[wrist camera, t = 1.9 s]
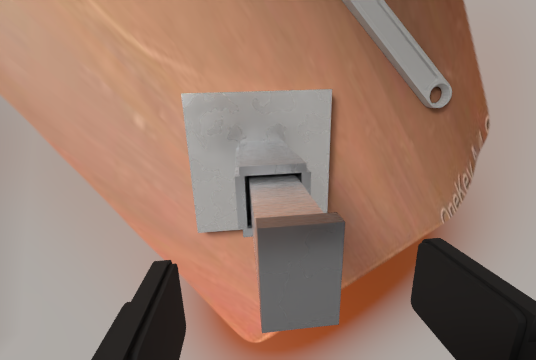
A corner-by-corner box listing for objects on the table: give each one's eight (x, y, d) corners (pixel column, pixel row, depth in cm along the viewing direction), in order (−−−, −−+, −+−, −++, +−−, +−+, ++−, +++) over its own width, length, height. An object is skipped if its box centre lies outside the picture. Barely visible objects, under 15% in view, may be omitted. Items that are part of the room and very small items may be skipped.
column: (245, 143, 26) (257, 228, 9) (275, 142, 26) (344, 221, 9) (247, 186, 27) (262, 333, 10) (276, 185, 27) (338, 324, 10)
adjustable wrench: (446, 94, 28) (459, 94, 27) (399, 135, 29) (409, 138, 28) (297, -145, 21) (302, -166, 20) (240, -81, 22) (240, -96, 20)
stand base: (184, 94, 25) (142, 89, 14) (327, 89, 26) (389, 82, 15) (200, 226, 29) (176, 301, 18) (322, 217, 31) (369, 282, 20)
